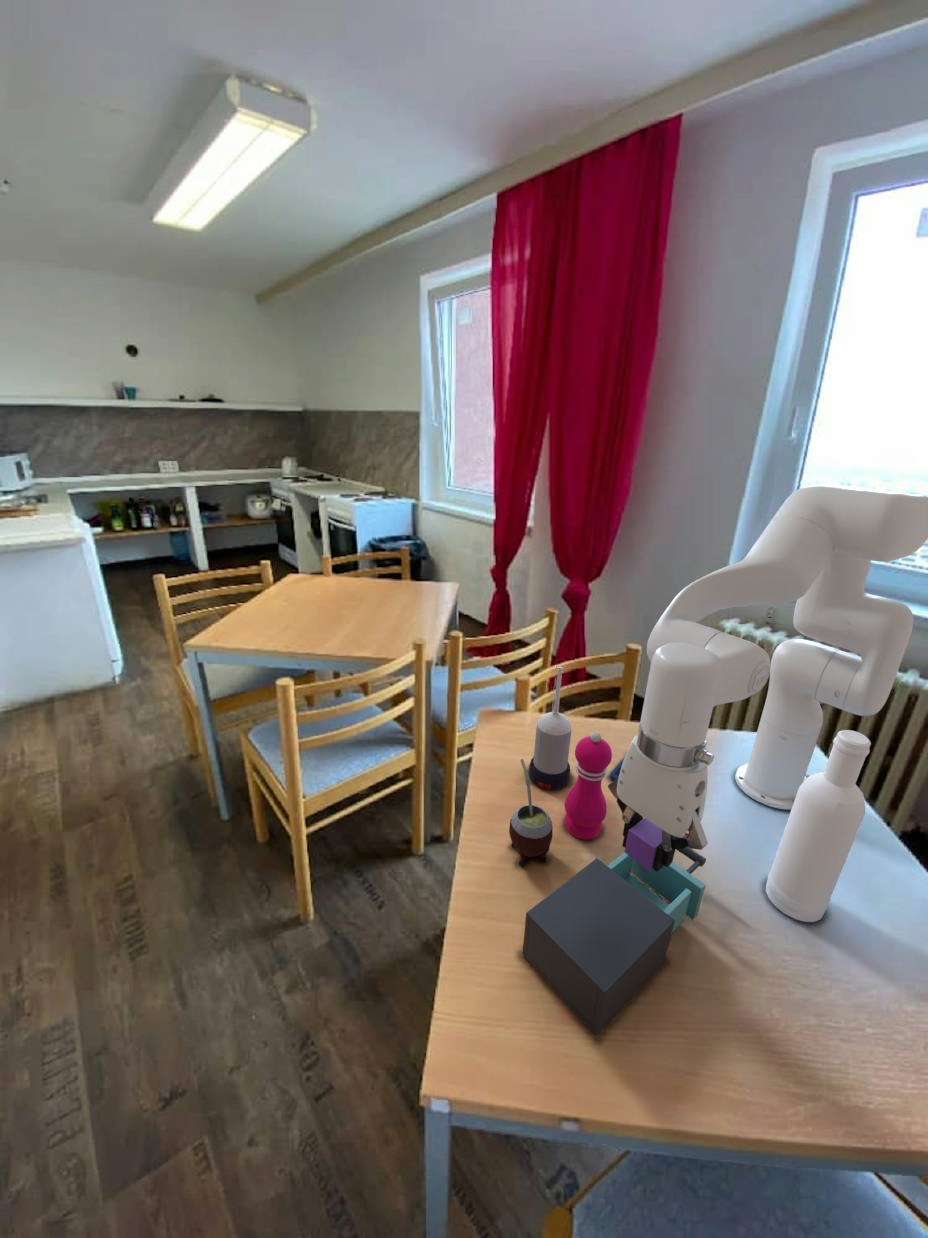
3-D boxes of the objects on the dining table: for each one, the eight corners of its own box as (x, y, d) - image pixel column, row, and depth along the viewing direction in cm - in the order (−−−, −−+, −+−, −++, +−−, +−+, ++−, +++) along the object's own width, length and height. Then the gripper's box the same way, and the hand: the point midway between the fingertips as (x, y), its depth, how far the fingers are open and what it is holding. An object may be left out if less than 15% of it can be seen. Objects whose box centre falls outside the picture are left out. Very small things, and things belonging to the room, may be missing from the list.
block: (641, 838, 73) (645, 816, 72) (666, 856, 70) (672, 834, 69) (624, 852, 71) (628, 829, 69) (649, 871, 68) (654, 848, 66)
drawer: (650, 848, 87) (657, 819, 85) (716, 895, 79) (725, 864, 77) (575, 911, 76) (580, 879, 74) (643, 973, 68) (651, 940, 65)
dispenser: (590, 897, 79) (596, 857, 76) (664, 962, 70) (675, 920, 67) (522, 954, 71) (526, 912, 68) (596, 1036, 62) (605, 993, 59)
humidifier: (537, 793, 100) (548, 679, 90) (523, 766, 107) (531, 658, 98) (576, 787, 102) (590, 675, 92) (559, 761, 109) (571, 655, 100)
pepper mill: (604, 845, 89) (620, 749, 81) (561, 838, 90) (573, 742, 82) (602, 815, 95) (617, 723, 87) (562, 809, 96) (574, 717, 89)
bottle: (816, 886, 82) (879, 726, 70) (831, 931, 75) (903, 761, 63) (760, 872, 84) (812, 715, 73) (769, 913, 77) (828, 747, 66)
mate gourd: (539, 877, 82) (547, 803, 77) (495, 855, 86) (500, 783, 80) (557, 846, 88) (566, 775, 82) (515, 827, 92) (521, 758, 86)
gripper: (753, 765, 60) (719, 881, 67) (629, 703, 72) (611, 807, 79) (721, 792, 55) (688, 913, 62) (595, 721, 67) (579, 829, 74)
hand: (645, 853), depth 70 cm, fingers closed on block, 4 cm apart
